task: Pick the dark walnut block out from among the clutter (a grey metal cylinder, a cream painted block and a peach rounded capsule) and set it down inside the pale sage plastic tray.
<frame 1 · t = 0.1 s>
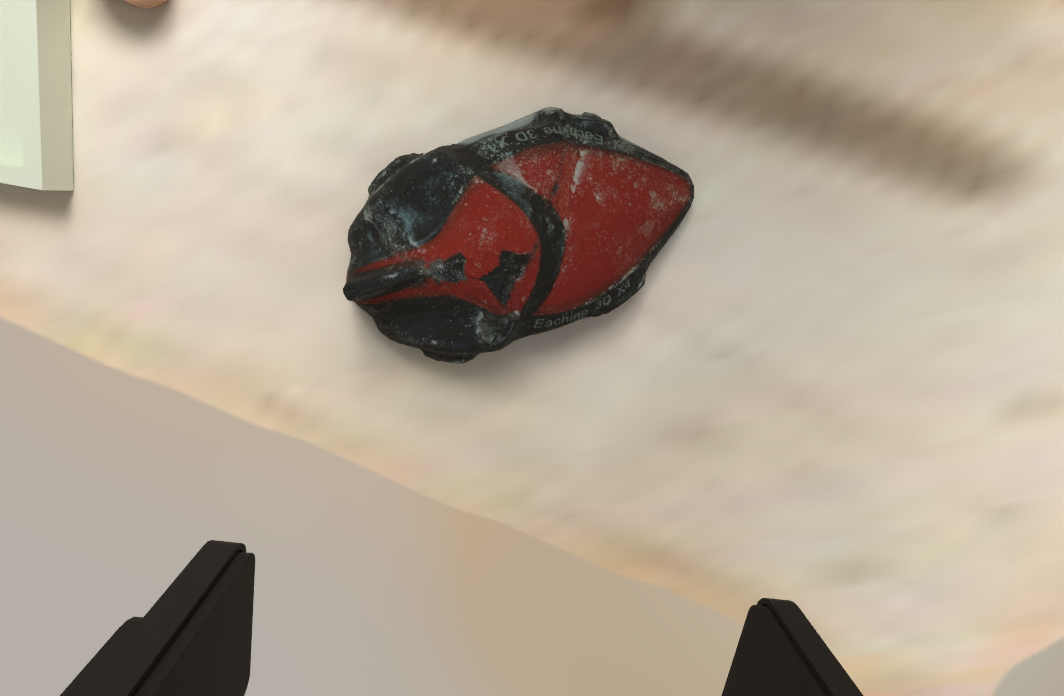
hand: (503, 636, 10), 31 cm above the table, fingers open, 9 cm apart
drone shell: (512, 241, 40), on the table
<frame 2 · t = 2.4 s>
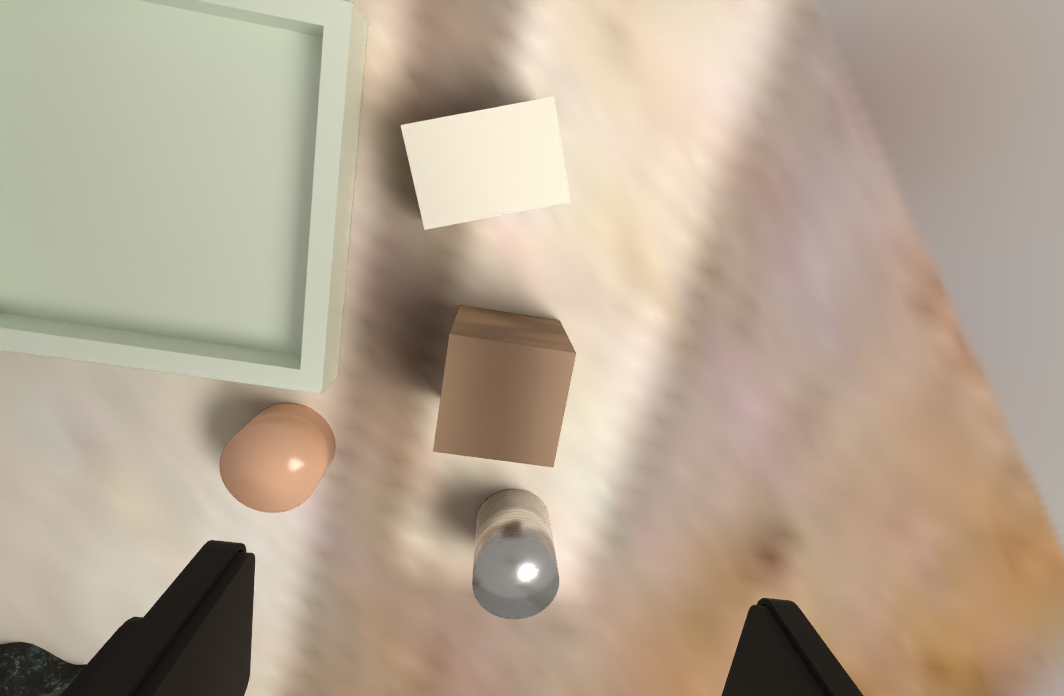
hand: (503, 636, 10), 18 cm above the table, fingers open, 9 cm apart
walnut block: (502, 360, 28), on the table
peach rounded capsule: (292, 442, 28), on the table
tray: (170, 182, 25), on the table
cream block: (489, 169, 26), on the table
grey cylinder: (513, 521, 30), on the table
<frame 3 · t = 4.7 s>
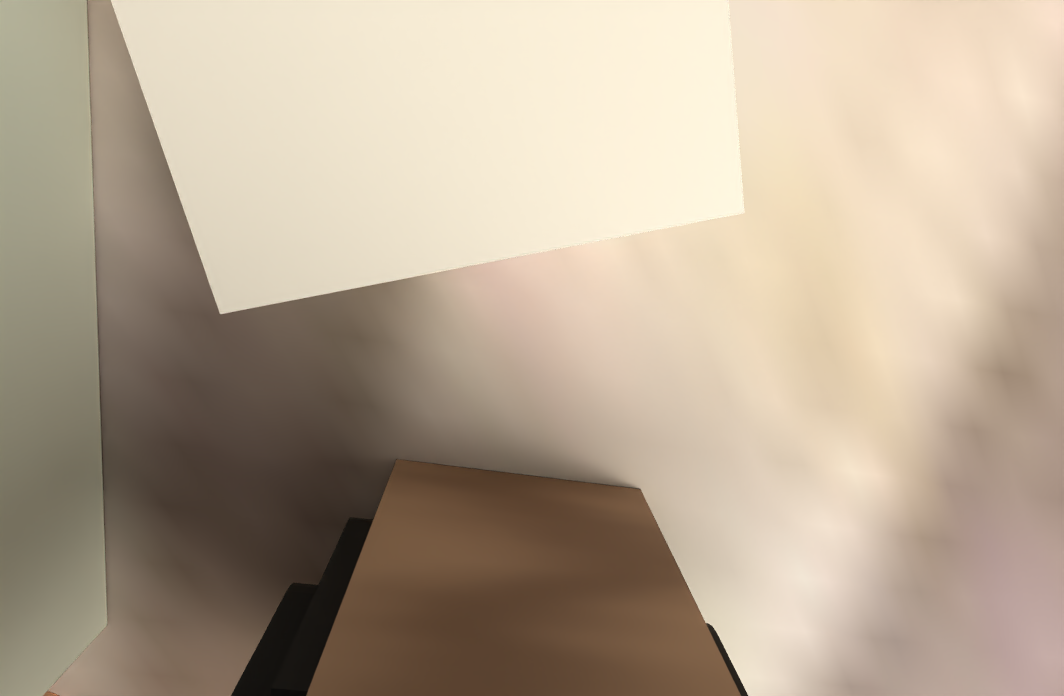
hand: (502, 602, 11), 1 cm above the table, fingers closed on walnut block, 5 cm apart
walnut block: (502, 579, 12), on the table, touching gripper
cream block: (465, 121, 10), on the table
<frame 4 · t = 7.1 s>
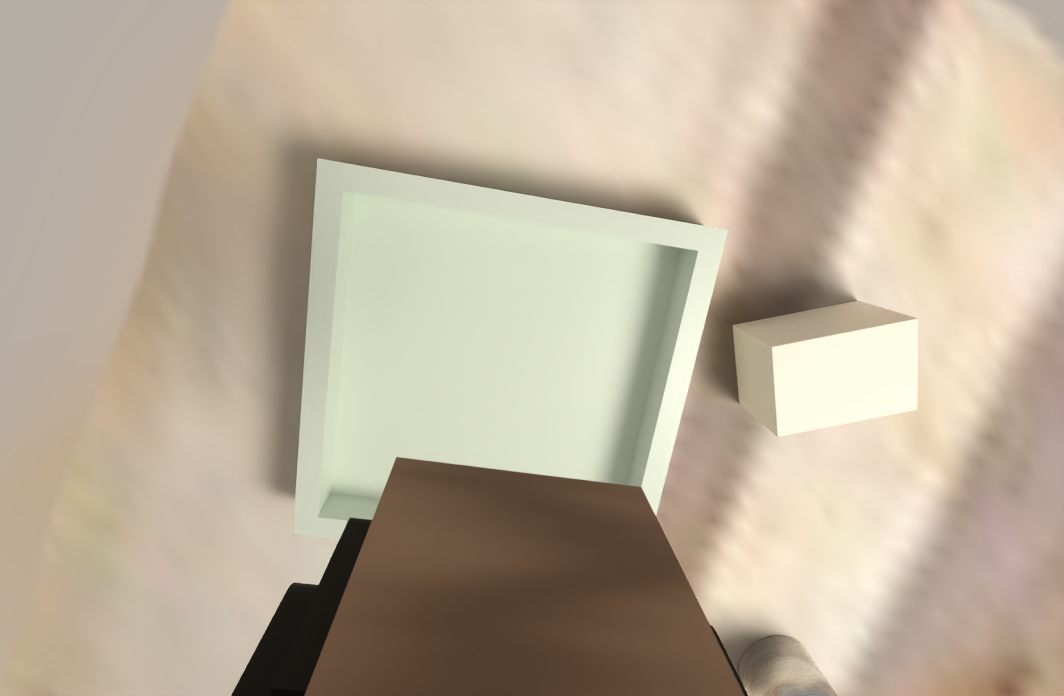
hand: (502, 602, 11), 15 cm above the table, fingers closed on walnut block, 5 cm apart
walnut block: (502, 577, 12), point 15 cm above the table, touching gripper
tray: (499, 371, 26), on the table
cream block: (795, 352, 27), on the table
grey cylinder: (773, 664, 31), on the table
when the fingers open (3 cm above the table, at t = 9.7 s): walnut block drops 1 cm, resting on tray.
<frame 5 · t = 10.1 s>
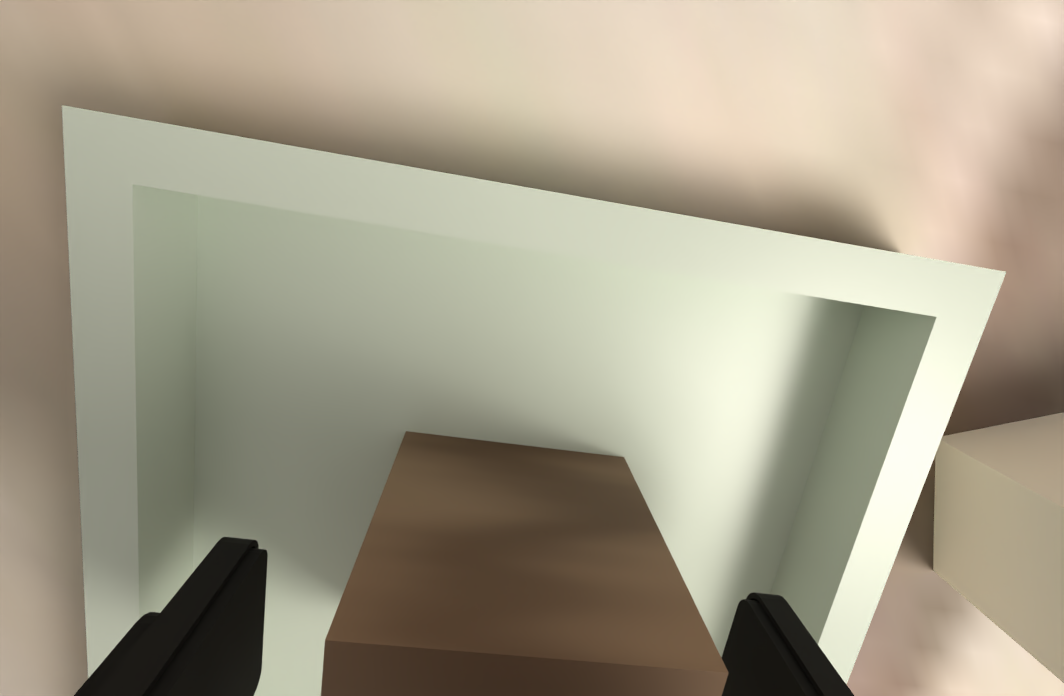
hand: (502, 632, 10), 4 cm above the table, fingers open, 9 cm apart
walnut block: (501, 539, 13), point 1 cm above the table, touching tray
tray: (501, 525, 14), on the table
cream block: (1041, 481, 15), on the table
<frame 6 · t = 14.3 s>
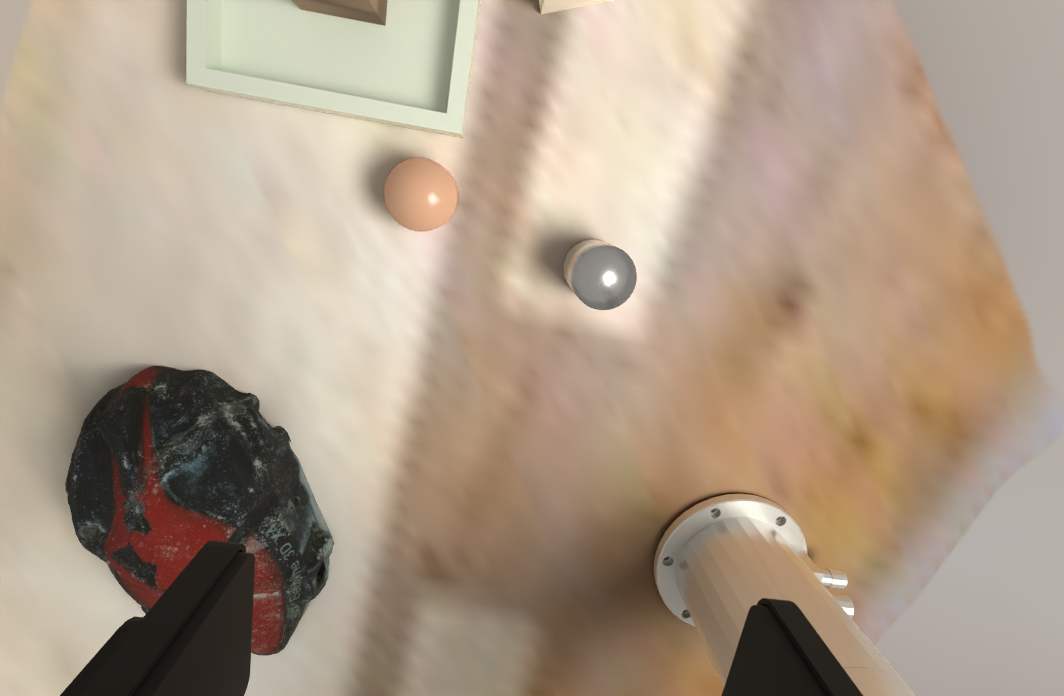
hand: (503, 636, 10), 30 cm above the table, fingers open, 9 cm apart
peach rounded capsule: (425, 195, 37), on the table
grey cylinder: (591, 268, 39), on the table
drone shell: (218, 506, 43), on the table
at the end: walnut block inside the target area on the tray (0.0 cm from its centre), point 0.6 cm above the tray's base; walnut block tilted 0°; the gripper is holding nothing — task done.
